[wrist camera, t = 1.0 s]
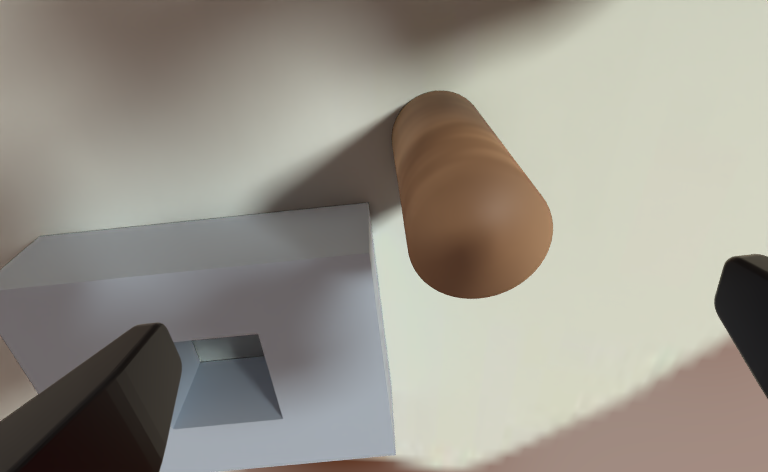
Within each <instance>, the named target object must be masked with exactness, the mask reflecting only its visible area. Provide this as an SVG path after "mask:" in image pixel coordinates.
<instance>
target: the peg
mask: <svg viewBox="0 0 768 472" xmlns="http://www.w3.org/2000/svg"><path fill="white" fill-rule="evenodd" d="M392 147H393V154H394V160H395V167H396V174H397V180H398V187H399V194H400V200H401V207H402V214H403V220H404V227H405V234H406V240H407V247H408V253H409V257H410V260H411V263H412V265H413V267H414V269H415V271H416V272H417V274H418V275H419V276H420V278H421V279H422V280H423V281H424V282H425V283H427V284H428V285H429V286H431V287H432V288H434V289H435V290H437V291H439V292H441V293H444V294H446V295H450V296H453V297H458V298H467V299H476V298H485V297H490V296H494V295H498V294H501V293H503V292H506V291H508V290H510V289H512V288H514V287H516V286H517V285H519V284H521V283H522V282H523V281H525V280H526V279H527V278H528V277H529V276H531V275H532V274H533V273H534V272H535V271H536V269H537V268H538V267H539V266H540V264H541V263H542V261H543V260H544V258H545V256H546V254H547V252H548V250H549V247H550V244H551V241H552V235H553V222H552V216H551V213H550V209H549V207H548V205H547V203H546V201H545V200H544V198H543V197H542V196H541V194H540V193H539V192H538V190H537V189H536V188H535V186H534V185H533V184H532V182H531V181H530V180H529V178H528V177H527V176H526V174H525V173H524V172H523V170H522V169H521V168H520V166H519V165H518V164H517V162H516V161H515V160H514V158H513V157H512V156H511V154H510V153H509V152H508V150H507V149H506V148H505V146H504V145H503V144H502V142H501V141H500V140H499V138H498V137H497V136H496V134H495V133H494V132H493V131H492V129H491V128H490V127H489V125H488V124H487V123H486V121H485V120H484V119H483V117H482V116H481V115H480V113H479V112H478V111H477V109H476V108H475V107H474V105H473V104H472V103H471V102H470V101H468V100H467V99H466V98H464V97H463V96H461V95H459V94H456V93H454V92H449V91H432V92H427V93H424V94H422V95H419V96H417V97H416V98H414V99H413V100H411V101H410V102H409V103H407V104H406V105H405V107H404V108H403V109H402V110H401V111H400V113H399V114H398V116H397V118H396V120H395V123H394V125H393V129H392Z"/></svg>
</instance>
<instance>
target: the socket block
mask: <svg viewBox="0 0 768 472" xmlns="http://www.w3.org/2000/svg"><path fill="white" fill-rule="evenodd" d="M156 322H159V323H162V324H164V325H165V326H166V328H167V329H168V331H169V333H170V336H171V338H172V340H173V342H174V344H175V347H176V349H177V351H178V353H179V355H180V358H181V362H182V374H181V379H180V384H179V389H178V393H177V398H176V403H175V407H174V412H173V417H172V422H171V426H170V431H169V436H168V440H167V445H166V449H165V453H164V457H163V461H162V465H161V468H160V471H159V472H218V471H229V470H240V469H250V468H261V467H272V466H282V465H293V464H304V463H315V462H326V461H336V460H347V459H358V458H369V457H379V456H390V455H396V450H395V435H394V419H393V403H392V388H391V380H390V372H389V364H388V356H387V347H386V339H385V331H384V323H383V315H382V307H381V299H380V291H379V283H378V275H377V267H376V259H375V251H374V243H373V235H372V227H371V219H370V211H369V203H360V204H350V205H340V206H330V207H321V208H311V209H301V210H291V211H281V212H272V213H262V214H252V215H242V216H233V217H223V218H213V219H203V220H193V221H184V222H174V223H164V224H154V225H145V226H135V227H125V228H115V229H105V230H96V231H86V232H76V233H66V234H56V235H47V236H39V237H38V238H37V239H36V240H35V241H33V242H32V243H31V244H30V245H29V246H28V247H26V248H25V249H24V250H23V251H22V252H20V253H19V254H18V255H17V256H16V257H15V258H13V259H12V260H11V261H10V262H9V263H7V264H6V265H5V266H4V267H3V268H2V269H0V335H1V337H2V338H3V340H4V342H5V343H6V345H7V346H8V348H9V349H10V351H11V352H12V354H13V355H14V357H15V359H16V360H17V362H18V363H19V365H20V366H21V368H22V369H23V371H24V372H25V374H26V375H27V377H28V379H29V380H30V382H31V383H32V385H33V386H34V388H35V389H36V391H37V392H38V394H40V393H41V392H42V391H44V390H45V389H47V388H48V387H49V386H51V385H52V384H54V383H55V382H56V381H58V380H59V379H61V378H62V377H63V376H65V375H66V374H68V373H69V372H70V371H72V370H73V369H75V368H76V367H77V366H79V365H80V364H82V363H83V362H84V361H86V360H87V359H89V358H90V357H91V356H93V355H94V354H96V353H97V352H98V351H100V350H101V349H103V348H104V347H105V346H107V345H108V344H110V343H111V342H112V341H114V340H115V339H117V338H118V337H119V336H121V335H122V334H124V333H125V332H126V331H128V330H129V329H131V328H132V327H134V326H136V325H139V324H147V323H156ZM253 334H258V336H259V339H260V343H261V346H262V349H263V353H264V356H260V357H250V358H239V359H229V360H219V361H209V362H200V360H199V358H198V355H197V352H196V350H195V347H194V345H193V342H192V340H202V339H212V338H222V337H233V336H243V335H253Z"/></svg>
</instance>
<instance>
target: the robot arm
mask: <svg viewBox="0 0 768 472" xmlns="http://www.w3.org/2000/svg"><path fill="white" fill-rule="evenodd" d="M714 304H715V309H716V312H717V314H718V316H719V318H720V320H721V321H722V323H723V325H724V326H725V328H726V330H727V332H728V333H729V335H730V337H731V338H732V340H733V342H734V343H735V345H736V347H737V349H738V350H739V352H740V354H741V355H742V357H743V359H744V360H745V362H746V364H747V365H748V367H749V369H750V371H751V372H752V374H753V376H754V377H755V379H756V381H757V382H758V384H759V386H760V387H761V389H762V390H763V392H764V394H765V395H766V397H767V398H768V257H767V256H764V255H760V254H751V255H742V256H734V257H731V258H729V259H728V260H727V261H726V262H725V264H724V267H723V270H722V274H721V277H720V281H719V284H718V288H717V291H716V295H715V300H714ZM181 374H182V362H181V358H180V355H179V353H178V351H177V349H176V347H175V344H174V342H173V340H172V338H171V336H170V333H169V331H168V329H167V328H166V326H165V325H164V324H162V323H159V322H156V323H147V324H139V325H136V326H134V327H132V328H131V329H129V330H128V331H126V332H125V333H124V334H122V335H121V336H119V337H118V338H117V339H115V340H114V341H112V342H111V343H110V344H108V345H107V346H105V347H104V348H103V349H101V350H100V351H98V352H97V353H96V354H94V355H93V356H91V357H90V358H89V359H87V360H86V361H84V362H83V363H82V364H80V365H79V366H77V367H76V368H75V369H73V370H72V371H70V372H69V373H68V374H66V375H65V376H63V377H62V378H61V379H59V380H58V381H56V382H55V383H54V384H52V385H51V386H49V387H48V388H47V389H45V390H44V391H42V392H41V393H40V394H38V395H37V396H35V397H34V398H33V399H31V400H30V401H28V402H27V403H26V404H24V405H23V406H21V407H20V408H19V409H17V410H16V411H14V412H13V413H12V414H10V415H9V416H7V417H6V418H4V419H3V420H2V421H0V472H159V471H160V468H161V465H162V461H163V457H164V453H165V449H166V445H167V440H168V436H169V431H170V426H171V422H172V417H173V412H174V407H175V403H176V398H177V393H178V389H179V384H180V379H181Z"/></svg>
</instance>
